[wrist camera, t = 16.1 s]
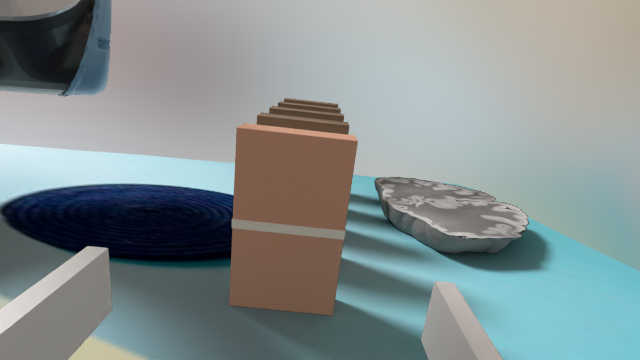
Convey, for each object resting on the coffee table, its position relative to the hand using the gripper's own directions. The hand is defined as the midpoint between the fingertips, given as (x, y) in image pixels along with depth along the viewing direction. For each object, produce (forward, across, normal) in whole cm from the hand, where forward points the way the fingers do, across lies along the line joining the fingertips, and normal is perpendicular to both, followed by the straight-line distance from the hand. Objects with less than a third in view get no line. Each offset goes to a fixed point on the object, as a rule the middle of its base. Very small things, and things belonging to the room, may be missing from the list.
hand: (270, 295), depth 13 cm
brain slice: (+28, +18, -8) cm, 34 cm away
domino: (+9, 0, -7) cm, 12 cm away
